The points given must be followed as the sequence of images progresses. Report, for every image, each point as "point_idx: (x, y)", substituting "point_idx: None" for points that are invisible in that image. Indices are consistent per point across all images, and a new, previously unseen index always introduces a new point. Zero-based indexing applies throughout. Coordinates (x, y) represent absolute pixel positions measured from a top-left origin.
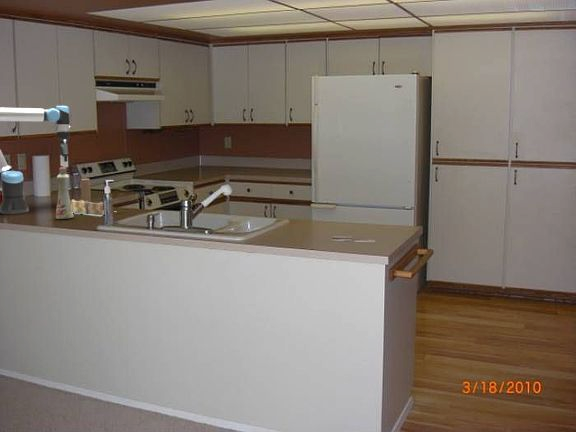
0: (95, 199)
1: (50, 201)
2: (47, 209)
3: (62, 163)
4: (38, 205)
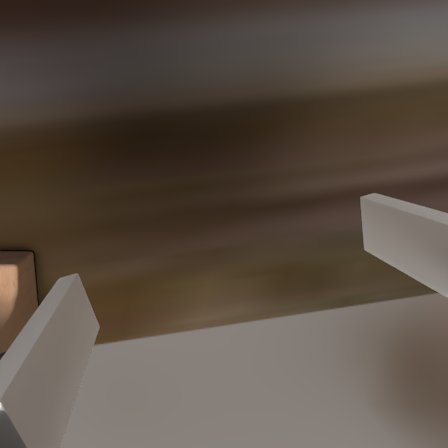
0: (386, 286)
1: (392, 80)
2: (34, 100)
3: (381, 227)
4: (237, 26)
